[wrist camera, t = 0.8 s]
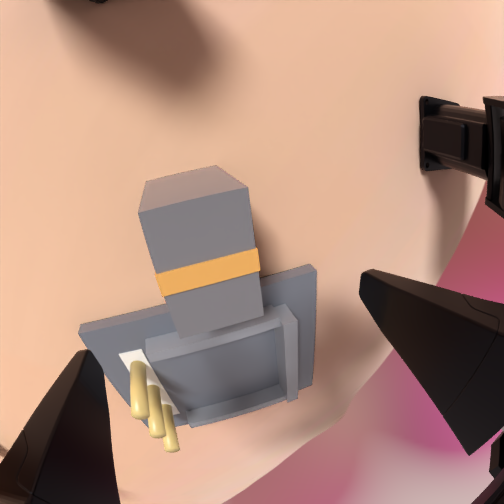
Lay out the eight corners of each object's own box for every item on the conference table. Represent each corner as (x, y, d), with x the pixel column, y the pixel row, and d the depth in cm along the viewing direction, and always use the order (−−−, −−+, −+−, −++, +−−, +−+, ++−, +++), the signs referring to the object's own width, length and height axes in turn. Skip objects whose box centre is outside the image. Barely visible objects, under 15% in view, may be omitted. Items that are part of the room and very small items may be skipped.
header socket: (309, 263, 20) (353, 306, 15) (307, 378, 27) (332, 417, 22) (80, 324, 16) (67, 384, 11) (150, 423, 23) (157, 469, 18)
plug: (217, 164, 15) (250, 187, 10) (232, 258, 18) (265, 316, 13) (145, 181, 14) (136, 214, 9) (169, 274, 17) (179, 340, 12)
